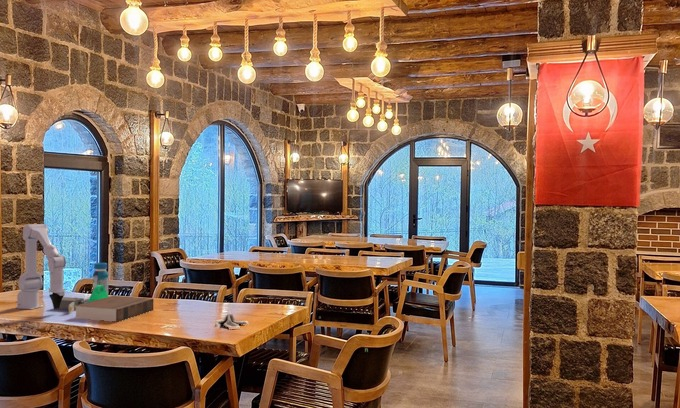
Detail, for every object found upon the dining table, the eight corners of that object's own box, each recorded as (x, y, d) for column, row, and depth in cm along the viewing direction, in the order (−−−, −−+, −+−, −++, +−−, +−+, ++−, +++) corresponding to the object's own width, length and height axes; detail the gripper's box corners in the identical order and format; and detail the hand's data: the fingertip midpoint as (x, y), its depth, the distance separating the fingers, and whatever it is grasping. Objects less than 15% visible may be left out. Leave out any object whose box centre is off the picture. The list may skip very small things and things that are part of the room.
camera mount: (96, 307, 291) (96, 287, 291) (87, 305, 295) (87, 286, 295) (116, 303, 301) (116, 284, 301) (108, 302, 305) (108, 283, 305)
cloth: (219, 320, 266) (219, 307, 266) (255, 323, 261) (255, 310, 261) (196, 331, 244) (196, 317, 244) (235, 334, 240) (235, 320, 240)
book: (153, 311, 285) (153, 298, 284) (118, 323, 258) (118, 309, 257) (112, 308, 291) (112, 295, 291) (74, 319, 264) (74, 305, 264)
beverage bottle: (104, 299, 311) (104, 264, 311) (89, 299, 311) (89, 264, 311) (111, 297, 319) (111, 262, 319) (96, 296, 319) (96, 262, 319)
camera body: (54, 309, 284) (54, 298, 284) (63, 306, 291) (64, 295, 291) (76, 310, 281) (76, 299, 281) (86, 308, 288) (86, 297, 288)
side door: (71, 314, 273) (71, 305, 273) (68, 314, 273) (68, 305, 273) (75, 310, 281) (75, 301, 281) (72, 310, 281) (72, 301, 281)
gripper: (71, 281, 271) (70, 309, 271) (59, 278, 280) (59, 305, 281) (55, 283, 265) (55, 311, 266) (44, 279, 275) (44, 307, 275)
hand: (56, 308), depth 273 cm, fingers closed
